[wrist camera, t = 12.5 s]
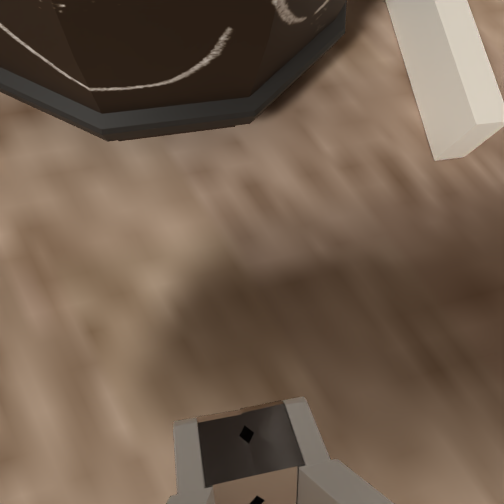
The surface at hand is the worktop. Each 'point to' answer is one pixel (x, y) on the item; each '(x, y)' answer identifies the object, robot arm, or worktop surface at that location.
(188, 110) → the black short wide cylinder
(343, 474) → the robot arm
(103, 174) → the worktop surface
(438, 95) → the bay
